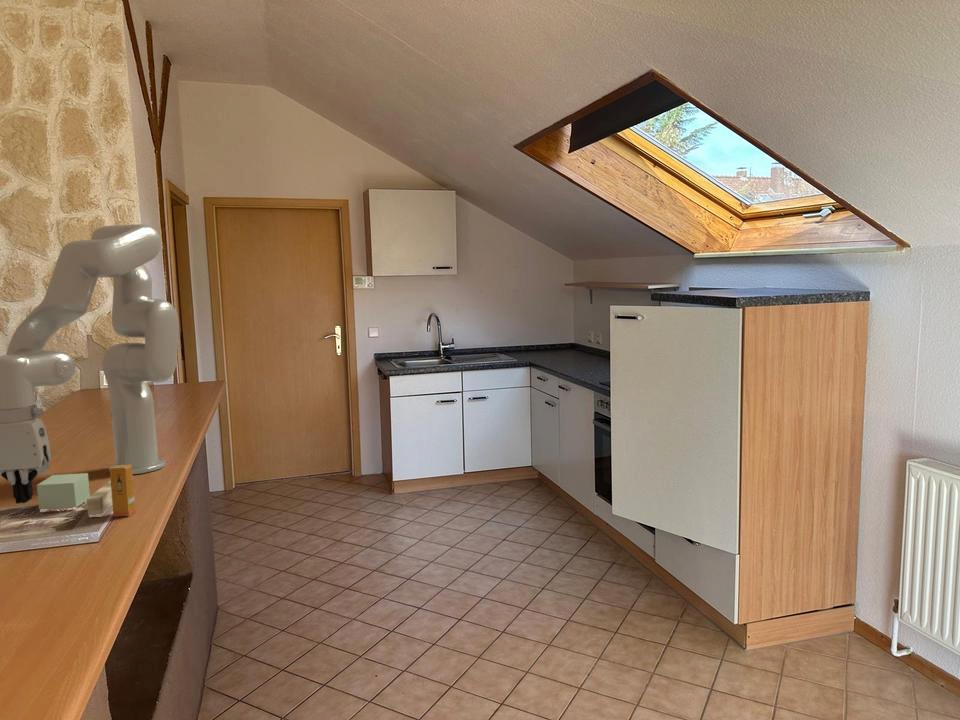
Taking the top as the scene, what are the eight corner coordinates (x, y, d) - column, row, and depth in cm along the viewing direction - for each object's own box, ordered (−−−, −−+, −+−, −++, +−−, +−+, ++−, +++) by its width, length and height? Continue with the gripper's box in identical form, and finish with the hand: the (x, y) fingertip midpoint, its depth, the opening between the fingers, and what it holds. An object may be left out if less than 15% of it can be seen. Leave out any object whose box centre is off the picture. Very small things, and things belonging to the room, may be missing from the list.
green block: (55, 502, 145) (52, 475, 144) (90, 499, 146) (87, 473, 145) (39, 513, 138) (36, 485, 137) (76, 511, 139) (73, 482, 138)
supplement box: (137, 511, 138) (133, 463, 137) (129, 516, 135) (125, 468, 134) (120, 511, 138) (116, 464, 137) (112, 517, 135) (108, 468, 133)
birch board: (121, 490, 152) (120, 472, 152) (133, 489, 153) (132, 472, 152) (88, 518, 134) (86, 498, 134) (101, 517, 135) (100, 497, 134)
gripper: (62, 409, 143) (70, 493, 146) (-15, 413, 141) (-5, 497, 143) (45, 417, 136) (54, 504, 138) (-37, 420, 134) (-26, 509, 136)
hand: (24, 501), depth 141 cm, fingers closed
